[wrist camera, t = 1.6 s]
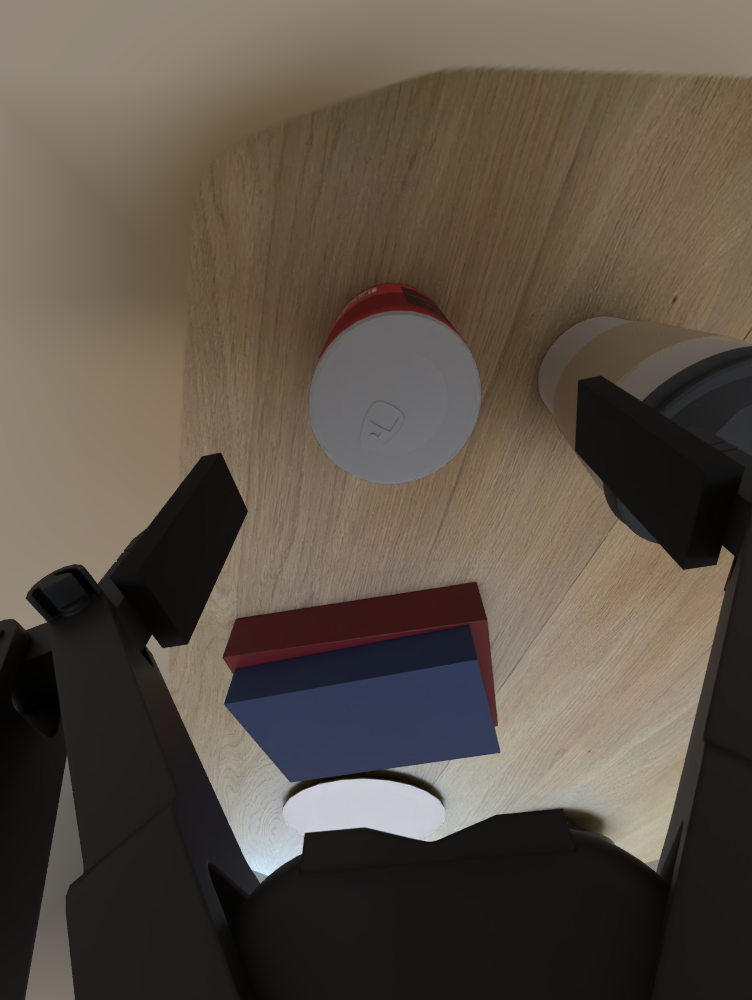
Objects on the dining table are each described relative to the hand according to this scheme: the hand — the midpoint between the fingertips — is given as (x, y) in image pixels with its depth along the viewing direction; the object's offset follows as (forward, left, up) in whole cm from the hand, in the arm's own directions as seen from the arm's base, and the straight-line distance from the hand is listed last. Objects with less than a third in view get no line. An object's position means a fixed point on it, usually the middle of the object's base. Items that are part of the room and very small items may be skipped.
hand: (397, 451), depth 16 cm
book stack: (+31, -8, -15) cm, 35 cm away
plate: (+67, -17, -15) cm, 70 cm away
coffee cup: (+4, +13, -15) cm, 20 cm away
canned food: (0, 0, -15) cm, 15 cm away
